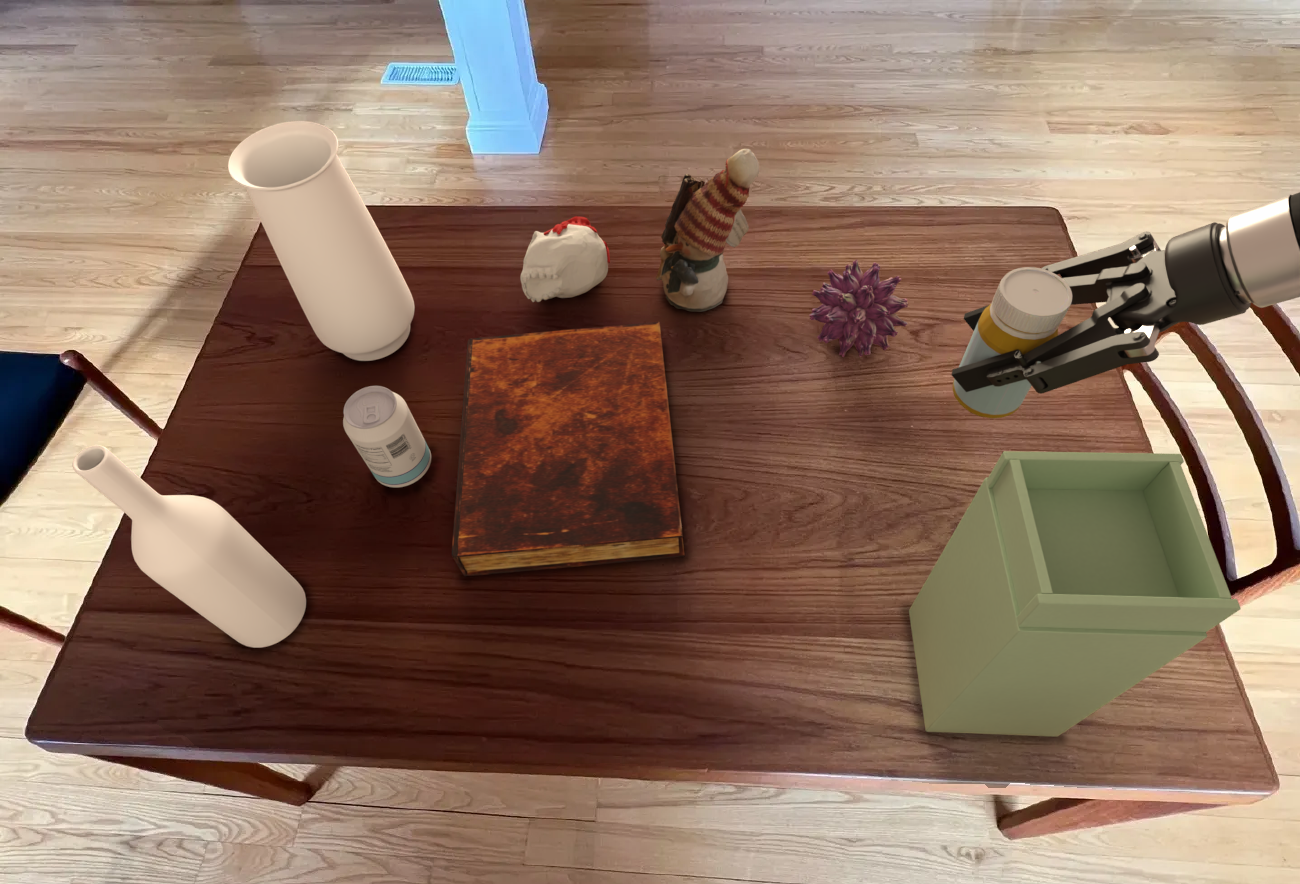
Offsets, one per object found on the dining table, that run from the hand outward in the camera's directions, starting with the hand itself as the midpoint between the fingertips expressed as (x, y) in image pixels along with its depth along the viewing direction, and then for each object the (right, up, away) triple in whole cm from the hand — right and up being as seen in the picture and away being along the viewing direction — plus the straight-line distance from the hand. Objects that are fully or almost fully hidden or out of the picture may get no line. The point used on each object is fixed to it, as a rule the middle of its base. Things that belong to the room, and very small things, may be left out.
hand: (965, 352), depth 79 cm
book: (-41, -10, +15) cm, 45 cm away
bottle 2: (+3, -4, +4) cm, 7 cm away
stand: (+1, -31, -2) cm, 31 cm away
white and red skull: (-42, +14, +31) cm, 54 cm away
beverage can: (-61, -12, +15) cm, 63 cm away
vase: (-68, +6, +27) cm, 74 cm away
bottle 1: (-72, -27, +5) cm, 77 cm away
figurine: (-24, +12, +29) cm, 40 cm away
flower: (-6, +4, +22) cm, 23 cm away
